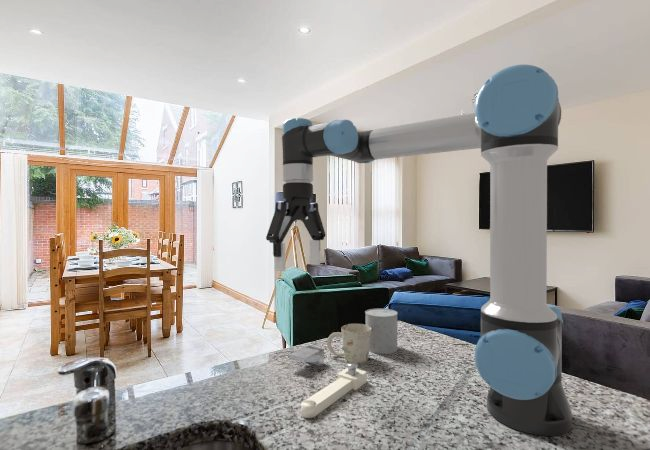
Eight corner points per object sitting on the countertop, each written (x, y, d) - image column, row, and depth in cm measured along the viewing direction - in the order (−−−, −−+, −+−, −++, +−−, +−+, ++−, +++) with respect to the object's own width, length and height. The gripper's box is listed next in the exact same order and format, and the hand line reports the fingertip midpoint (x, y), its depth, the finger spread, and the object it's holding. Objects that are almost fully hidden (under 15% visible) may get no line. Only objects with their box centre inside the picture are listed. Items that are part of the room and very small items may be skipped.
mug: (370, 371, 96) (370, 333, 96) (323, 367, 99) (323, 330, 99) (372, 359, 104) (372, 324, 104) (329, 356, 107) (329, 322, 107)
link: (348, 376, 89) (348, 366, 89) (366, 382, 86) (366, 371, 86) (294, 413, 73) (294, 401, 73) (314, 421, 70) (314, 408, 70)
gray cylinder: (400, 359, 104) (400, 316, 104) (367, 359, 104) (366, 316, 104) (394, 347, 114) (394, 308, 114) (363, 347, 114) (363, 308, 114)
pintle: (359, 383, 86) (359, 363, 86) (354, 388, 84) (354, 367, 84) (350, 381, 88) (350, 361, 88) (344, 385, 85) (344, 364, 85)
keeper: (323, 368, 98) (323, 348, 98) (304, 380, 91) (303, 358, 91) (309, 364, 101) (309, 345, 101) (288, 375, 94) (288, 354, 94)
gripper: (315, 187, 104) (316, 261, 104) (250, 179, 83) (251, 272, 84) (337, 185, 99) (338, 263, 100) (274, 177, 79) (275, 275, 79)
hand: (298, 267), depth 92 cm, fingers open, 13 cm apart
